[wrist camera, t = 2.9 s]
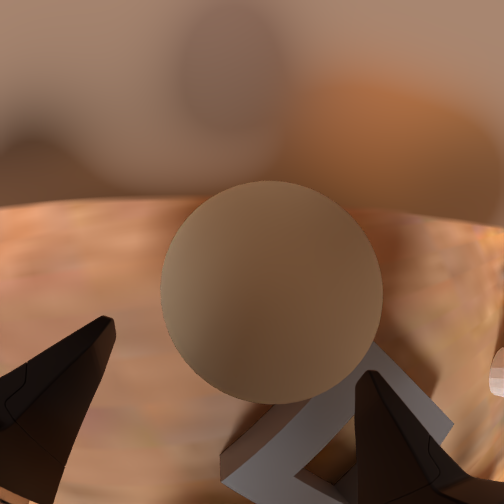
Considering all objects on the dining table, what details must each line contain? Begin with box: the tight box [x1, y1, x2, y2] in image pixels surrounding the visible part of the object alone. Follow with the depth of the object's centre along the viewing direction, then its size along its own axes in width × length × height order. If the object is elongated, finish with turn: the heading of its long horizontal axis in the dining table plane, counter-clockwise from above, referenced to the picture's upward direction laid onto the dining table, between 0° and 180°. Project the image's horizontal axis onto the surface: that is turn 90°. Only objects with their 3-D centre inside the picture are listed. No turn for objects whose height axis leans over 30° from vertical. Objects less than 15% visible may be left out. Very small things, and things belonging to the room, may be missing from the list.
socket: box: [220, 341, 454, 504], centre depth 14 cm, size 12×12×4 cm
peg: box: [160, 181, 383, 404], centre depth 12 cm, size 4×4×14 cm
